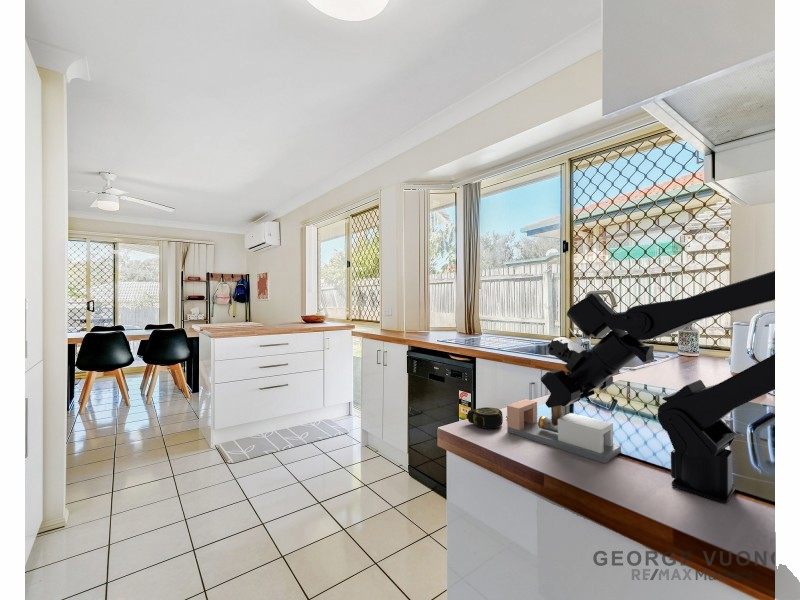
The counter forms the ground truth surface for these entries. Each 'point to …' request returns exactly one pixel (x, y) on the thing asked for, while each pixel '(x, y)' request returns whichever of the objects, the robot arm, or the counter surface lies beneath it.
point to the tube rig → (564, 432)
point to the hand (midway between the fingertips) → (550, 404)
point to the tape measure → (485, 417)
